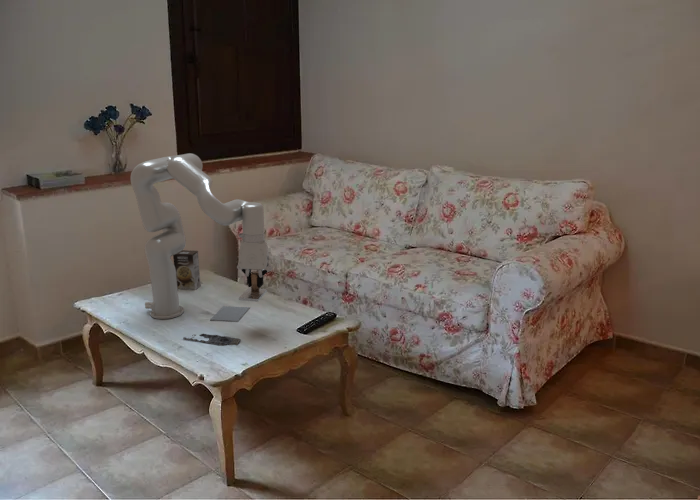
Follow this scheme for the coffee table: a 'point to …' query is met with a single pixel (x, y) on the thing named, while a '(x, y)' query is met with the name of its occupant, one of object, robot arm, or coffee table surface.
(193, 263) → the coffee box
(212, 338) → the driftwood
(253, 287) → the trowel
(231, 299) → the coffee table surface
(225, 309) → the mat
